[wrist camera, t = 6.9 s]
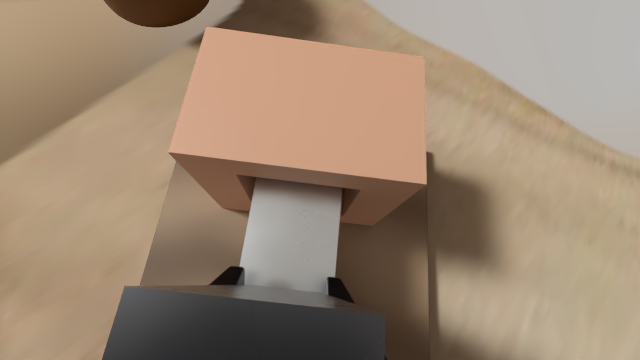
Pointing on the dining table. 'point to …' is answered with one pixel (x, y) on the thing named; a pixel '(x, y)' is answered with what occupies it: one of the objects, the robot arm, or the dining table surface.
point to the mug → (157, 11)
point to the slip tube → (258, 294)
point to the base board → (351, 263)
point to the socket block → (303, 121)
